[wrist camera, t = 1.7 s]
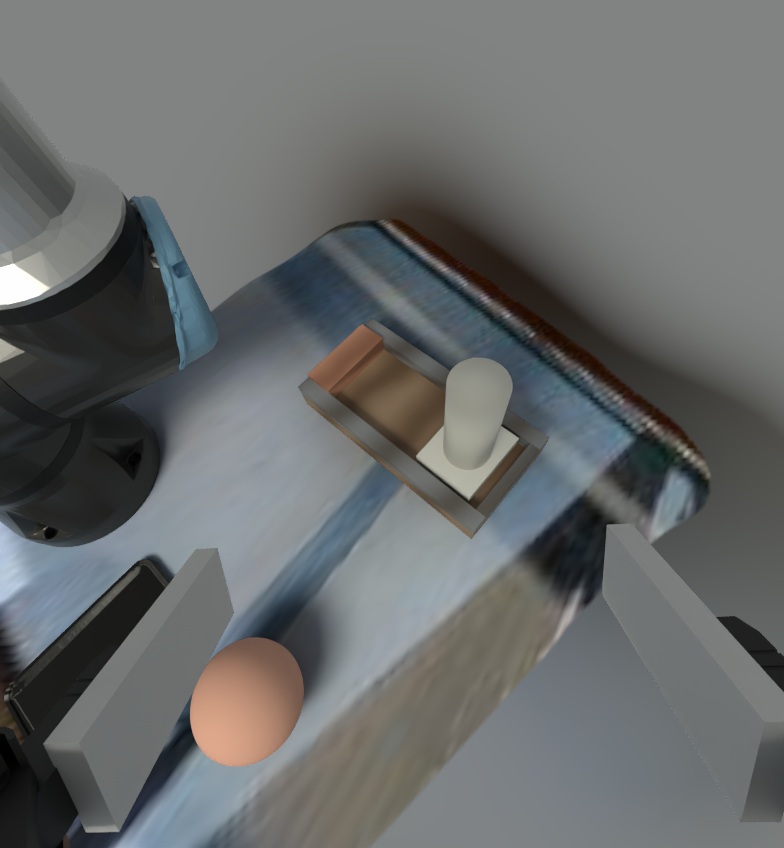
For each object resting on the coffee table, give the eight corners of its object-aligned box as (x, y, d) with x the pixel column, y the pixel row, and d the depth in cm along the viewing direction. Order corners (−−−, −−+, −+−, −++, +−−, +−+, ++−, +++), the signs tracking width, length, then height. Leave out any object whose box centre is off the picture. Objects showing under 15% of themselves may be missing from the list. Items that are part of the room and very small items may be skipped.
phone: (-1, 693, 37) (144, 554, 41) (11, 691, 38) (151, 555, 42) (43, 772, 34) (193, 614, 38) (54, 768, 35) (200, 615, 39)
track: (307, 403, 47) (296, 384, 43) (375, 337, 50) (371, 315, 46) (471, 538, 39) (475, 529, 36) (540, 452, 42) (550, 435, 39)
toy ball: (227, 639, 37) (179, 641, 30) (315, 633, 37) (287, 634, 30) (216, 753, 34) (159, 785, 27) (313, 748, 34) (281, 780, 26)
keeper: (416, 461, 40) (410, 396, 29) (464, 408, 42) (475, 328, 31) (468, 502, 38) (482, 449, 27) (516, 444, 40) (548, 372, 29)
